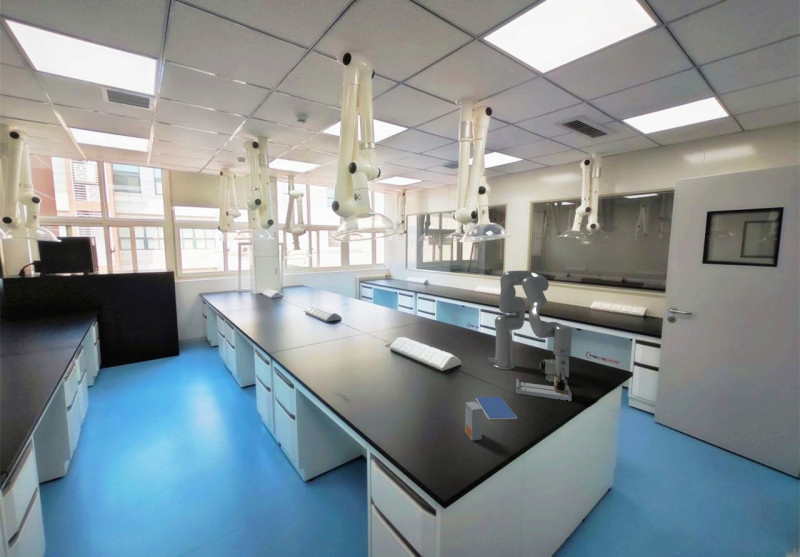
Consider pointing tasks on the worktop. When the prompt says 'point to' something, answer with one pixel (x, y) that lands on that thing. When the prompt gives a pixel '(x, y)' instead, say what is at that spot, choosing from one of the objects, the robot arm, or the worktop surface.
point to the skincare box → (473, 421)
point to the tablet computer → (496, 408)
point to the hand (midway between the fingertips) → (560, 387)
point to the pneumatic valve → (548, 369)
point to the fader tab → (556, 385)
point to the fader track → (541, 391)
